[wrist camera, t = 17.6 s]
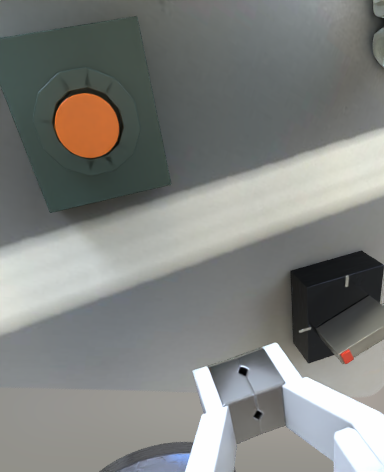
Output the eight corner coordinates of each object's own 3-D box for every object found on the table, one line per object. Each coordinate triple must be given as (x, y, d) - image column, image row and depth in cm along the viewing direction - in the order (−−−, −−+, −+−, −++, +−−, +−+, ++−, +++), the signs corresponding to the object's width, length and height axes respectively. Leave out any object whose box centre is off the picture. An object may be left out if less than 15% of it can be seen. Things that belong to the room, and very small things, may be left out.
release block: (167, 178, 29) (175, 190, 26) (54, 204, 28) (46, 221, 24) (134, 21, 24) (139, 10, 21) (-7, 44, 23) (-28, 36, 19)
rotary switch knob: (369, 294, 36) (399, 318, 32) (373, 305, 37) (403, 330, 33) (315, 328, 36) (339, 356, 33) (320, 338, 37) (344, 366, 33)
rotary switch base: (363, 321, 43) (384, 340, 40) (285, 346, 42) (300, 368, 38) (370, 247, 38) (394, 262, 35) (281, 272, 37) (298, 290, 33)
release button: (124, 147, 24) (125, 151, 22) (69, 158, 23) (66, 163, 22) (109, 88, 22) (109, 88, 21) (49, 99, 22) (45, 100, 20)
